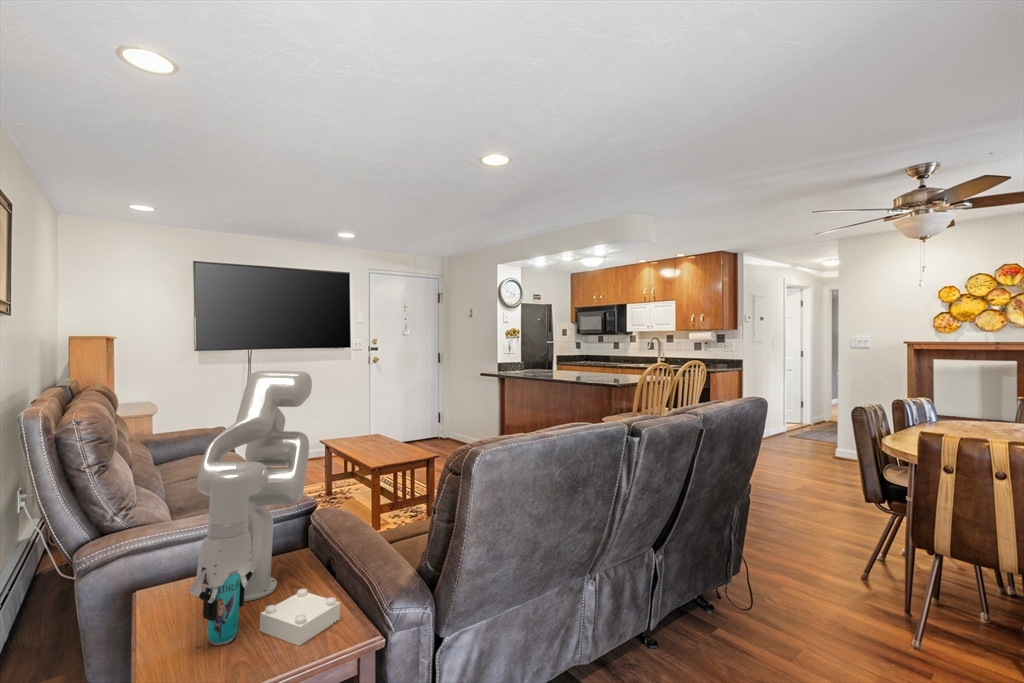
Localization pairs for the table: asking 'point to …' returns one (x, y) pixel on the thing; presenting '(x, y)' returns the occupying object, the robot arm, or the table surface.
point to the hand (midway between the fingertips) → (223, 611)
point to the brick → (299, 617)
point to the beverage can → (226, 611)
